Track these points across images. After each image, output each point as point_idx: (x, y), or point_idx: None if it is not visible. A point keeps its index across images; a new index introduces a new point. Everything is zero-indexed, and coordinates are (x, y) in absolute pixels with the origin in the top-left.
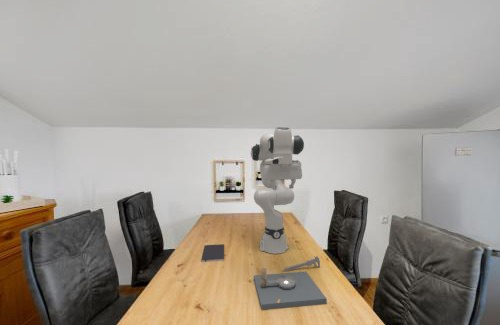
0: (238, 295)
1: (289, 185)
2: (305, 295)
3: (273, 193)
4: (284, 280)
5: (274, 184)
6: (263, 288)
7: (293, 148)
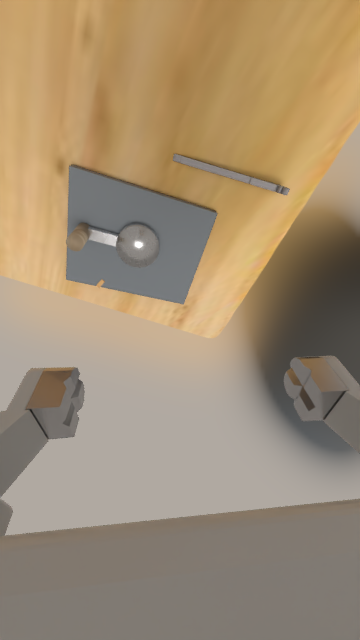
0: (24, 217)
1: (311, 389)
2: (155, 286)
3: None
4: (132, 250)
5: (25, 466)
6: None
7: None
